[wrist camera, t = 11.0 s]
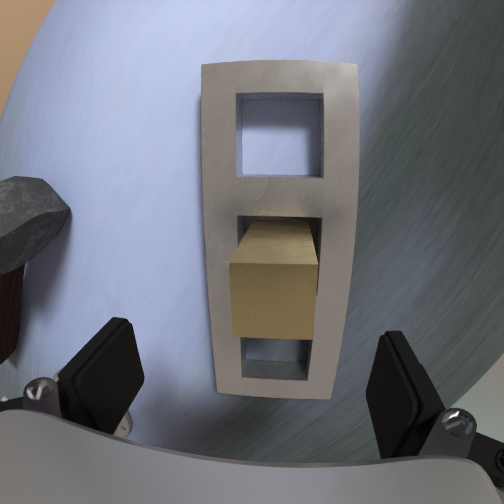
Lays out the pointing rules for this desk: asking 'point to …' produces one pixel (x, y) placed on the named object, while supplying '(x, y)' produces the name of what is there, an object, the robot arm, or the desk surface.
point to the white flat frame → (280, 212)
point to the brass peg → (274, 281)
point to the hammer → (23, 243)
